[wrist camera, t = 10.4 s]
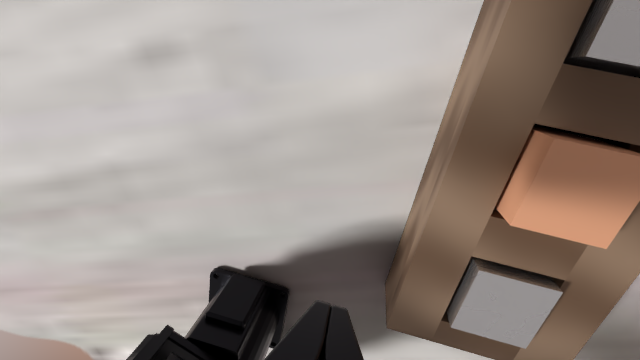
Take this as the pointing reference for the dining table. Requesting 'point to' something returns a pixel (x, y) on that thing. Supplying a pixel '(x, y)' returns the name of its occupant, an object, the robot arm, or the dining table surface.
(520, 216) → the orange cube
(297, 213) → the dining table surface
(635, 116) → the console
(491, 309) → the grey cube
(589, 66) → the grey block
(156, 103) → the dining table surface
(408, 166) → the dining table surface
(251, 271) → the dining table surface
